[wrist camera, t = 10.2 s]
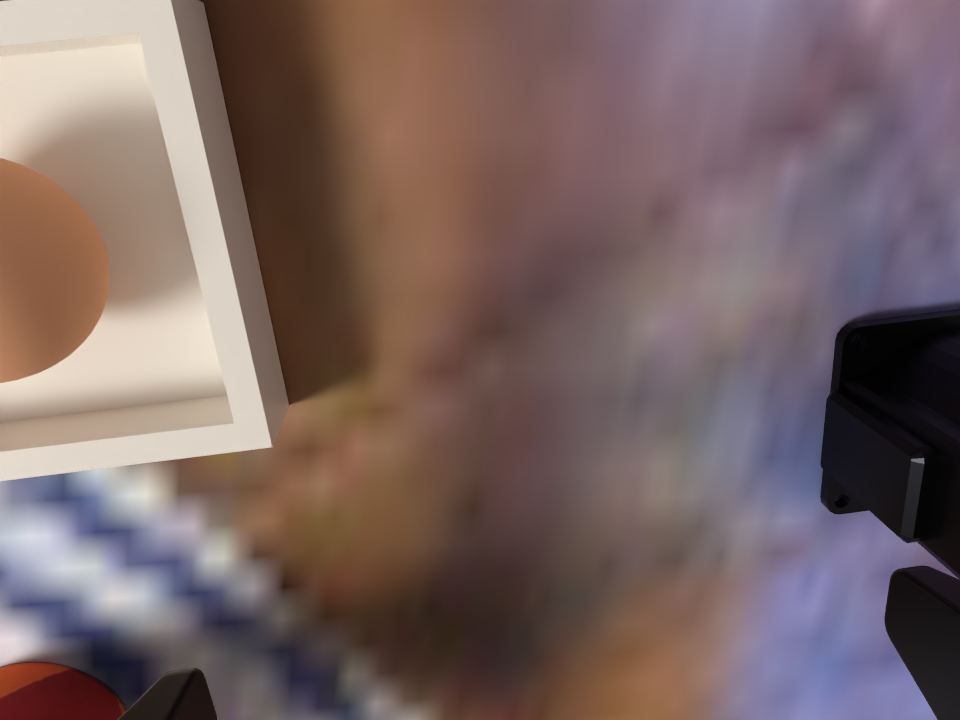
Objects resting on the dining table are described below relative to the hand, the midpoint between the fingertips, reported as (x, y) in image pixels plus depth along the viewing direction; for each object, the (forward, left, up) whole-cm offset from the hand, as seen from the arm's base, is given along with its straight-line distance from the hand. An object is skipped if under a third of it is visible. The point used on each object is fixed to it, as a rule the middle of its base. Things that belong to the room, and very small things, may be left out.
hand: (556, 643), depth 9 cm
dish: (+11, -4, -12) cm, 17 cm away
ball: (+11, -4, -11) cm, 16 cm away
